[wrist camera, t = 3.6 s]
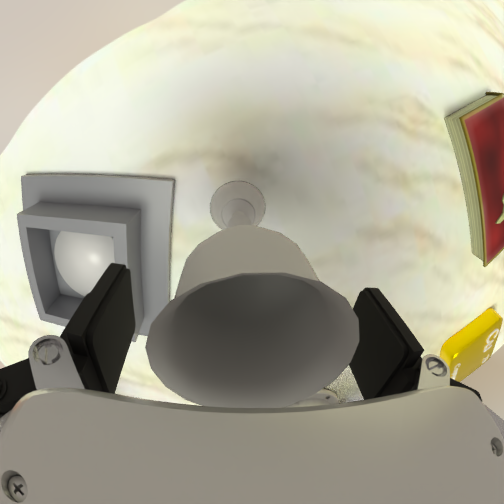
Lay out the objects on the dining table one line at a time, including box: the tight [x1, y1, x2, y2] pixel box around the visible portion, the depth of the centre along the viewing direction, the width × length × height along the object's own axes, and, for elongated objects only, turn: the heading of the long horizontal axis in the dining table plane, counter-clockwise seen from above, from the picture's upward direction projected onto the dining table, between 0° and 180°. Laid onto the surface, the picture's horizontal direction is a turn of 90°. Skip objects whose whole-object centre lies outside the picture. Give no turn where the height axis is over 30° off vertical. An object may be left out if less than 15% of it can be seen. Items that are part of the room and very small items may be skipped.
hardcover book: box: [444, 92, 504, 267], centre depth 23 cm, size 12×21×4 cm, turn 32°
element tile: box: [440, 308, 503, 382], centre depth 38 cm, size 15×15×5 cm
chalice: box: [145, 181, 359, 408], centre depth 17 cm, size 7×7×18 cm
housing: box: [17, 174, 175, 342], centre depth 23 cm, size 18×18×5 cm
